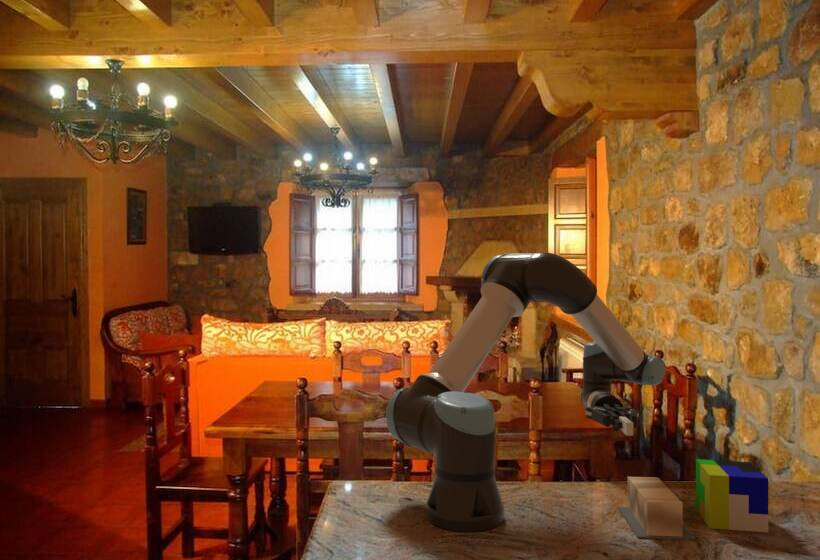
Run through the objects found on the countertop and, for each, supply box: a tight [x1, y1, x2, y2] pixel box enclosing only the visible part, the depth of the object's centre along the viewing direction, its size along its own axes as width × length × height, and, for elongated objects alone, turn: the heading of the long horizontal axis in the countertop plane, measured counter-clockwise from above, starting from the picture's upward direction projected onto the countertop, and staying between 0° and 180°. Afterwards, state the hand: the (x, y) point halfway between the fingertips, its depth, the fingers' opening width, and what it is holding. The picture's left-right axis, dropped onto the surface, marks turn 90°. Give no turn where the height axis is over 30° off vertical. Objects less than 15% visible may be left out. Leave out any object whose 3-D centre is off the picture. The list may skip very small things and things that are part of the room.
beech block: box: [626, 476, 684, 537], centre depth 117 cm, size 6×6×14 cm
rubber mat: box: [617, 506, 696, 541], centre depth 116 cm, size 14×10×1 cm
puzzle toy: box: [695, 458, 769, 533], centre depth 118 cm, size 10×10×10 cm
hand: (629, 429), depth 134 cm, fingers closed
